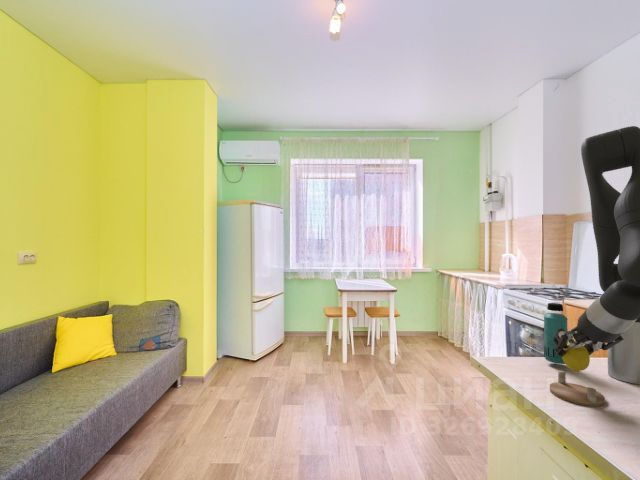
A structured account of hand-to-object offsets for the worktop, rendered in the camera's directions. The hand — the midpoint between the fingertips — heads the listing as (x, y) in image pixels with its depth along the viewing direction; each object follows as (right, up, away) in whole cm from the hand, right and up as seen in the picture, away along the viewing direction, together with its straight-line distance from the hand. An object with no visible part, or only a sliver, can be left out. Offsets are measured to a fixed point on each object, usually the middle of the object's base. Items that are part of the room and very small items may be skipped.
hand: (570, 353), depth 82 cm
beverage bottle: (+10, -11, +18) cm, 24 cm away
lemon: (0, -4, -2) cm, 5 cm away
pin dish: (0, -10, -2) cm, 10 cm away
